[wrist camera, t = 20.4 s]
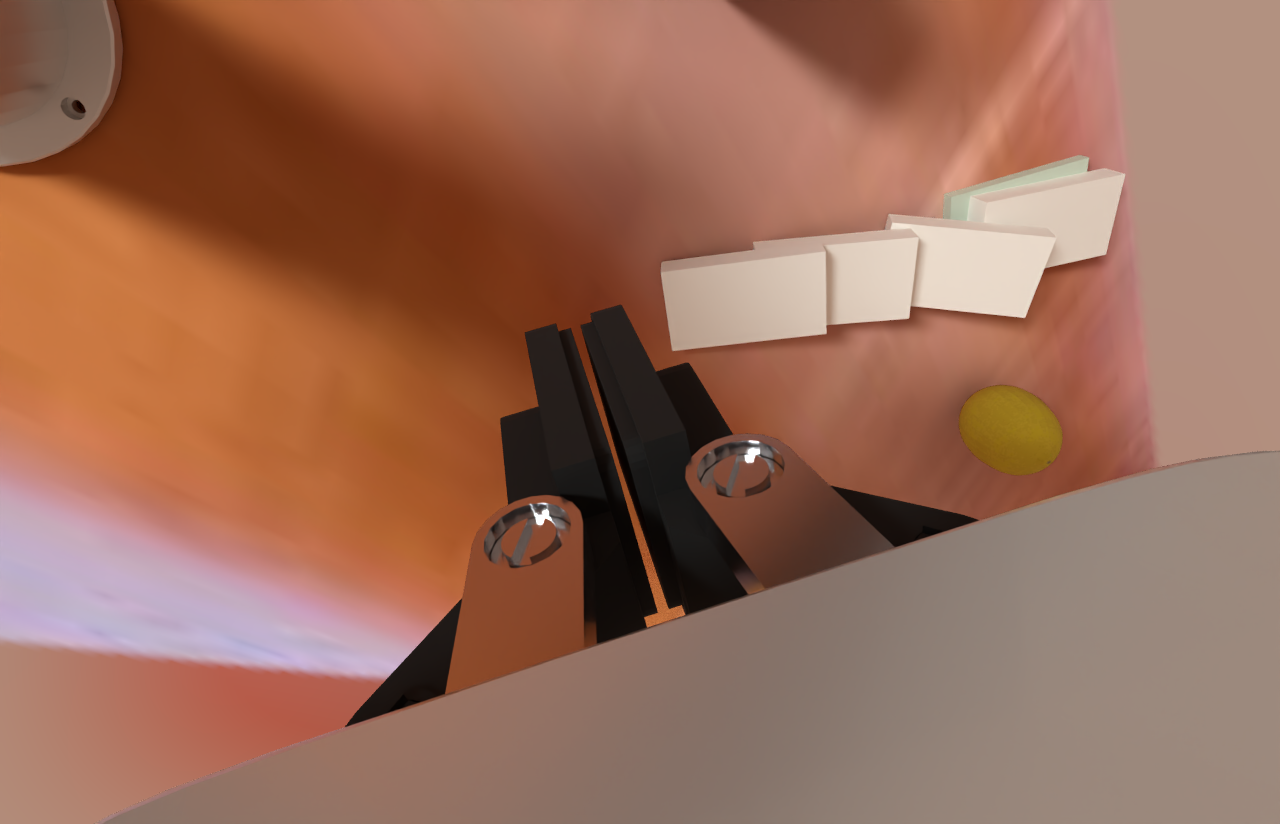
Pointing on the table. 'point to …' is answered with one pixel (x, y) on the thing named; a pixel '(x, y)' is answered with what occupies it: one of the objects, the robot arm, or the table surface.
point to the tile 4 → (1059, 211)
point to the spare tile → (1010, 184)
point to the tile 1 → (746, 296)
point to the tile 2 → (865, 273)
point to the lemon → (1010, 430)
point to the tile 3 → (976, 264)
